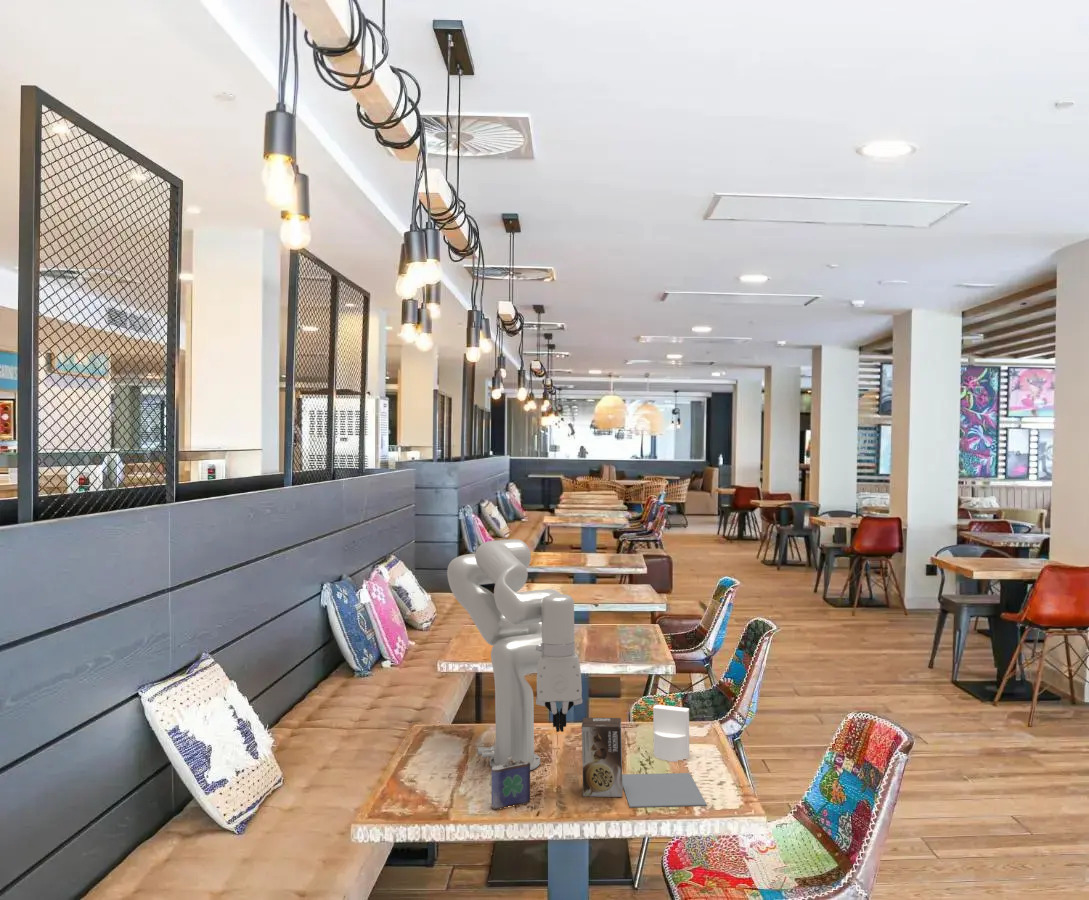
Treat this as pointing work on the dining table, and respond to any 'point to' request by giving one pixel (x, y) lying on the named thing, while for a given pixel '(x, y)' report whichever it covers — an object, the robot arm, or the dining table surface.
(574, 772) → the dining table surface
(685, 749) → the cylinder with rectangular tab
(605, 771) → the coffee box
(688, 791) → the mat
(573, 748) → the dining table surface
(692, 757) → the dining table surface
